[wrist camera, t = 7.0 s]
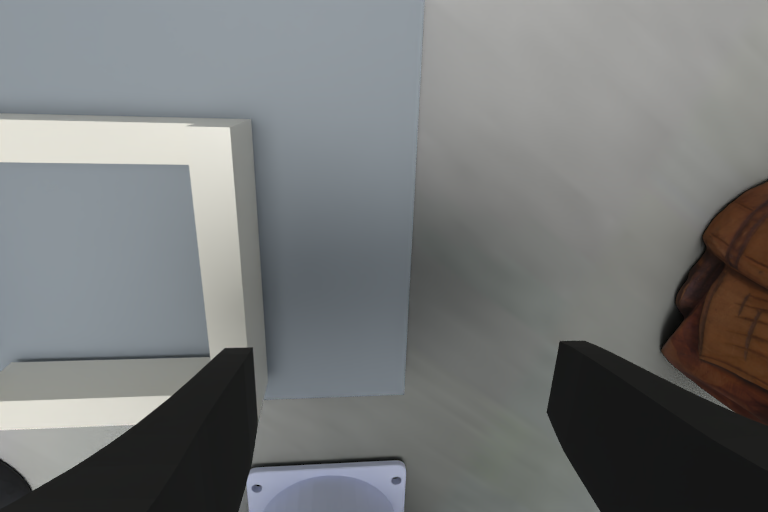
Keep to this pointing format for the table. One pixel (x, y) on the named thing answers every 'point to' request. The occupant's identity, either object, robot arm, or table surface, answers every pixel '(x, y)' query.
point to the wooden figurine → (728, 310)
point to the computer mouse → (11, 485)
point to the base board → (174, 194)
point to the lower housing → (216, 255)
